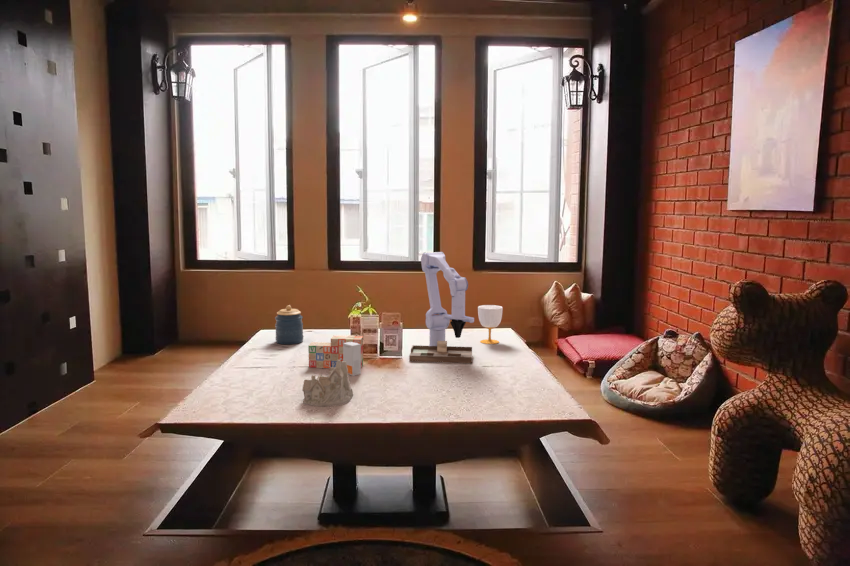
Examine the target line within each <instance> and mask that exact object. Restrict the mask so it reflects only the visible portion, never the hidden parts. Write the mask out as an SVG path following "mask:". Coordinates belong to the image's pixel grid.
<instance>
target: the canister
mask: <svg viewBox="0 0 850 566" xmlns="http://www.w3.org/2000/svg"><path fill="white" fill-rule="evenodd" d="M301 313H302V311H300V310H299V308H292V306H291V304H289V305H286V307H285V308H282V309H279V311H277V312H276V314H277V315H276V316H275V317H274V319H275V321H276V322H275V324H274V327H275V337H274V338H275V342H276V343H277V344H279V345H296V344H297V345H298V344H300V343H303V341H304V328H303V327H304V323H303V320H302V319H303V315H301Z"/></svg>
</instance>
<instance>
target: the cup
mask: <svg viewBox="0 0 850 566" xmlns="http://www.w3.org/2000/svg"><path fill="white" fill-rule="evenodd" d="M503 312H504V310H503V306H501V305H495V304H482V305H478V306H477V315H478V322H479V323H480V325H481V326H482V327H483V328H486V329H488V337H487V339H482V340H480V341H479V342H480V343H481V344H484V345H497V344H499V343H500V341H499V340H497V339H492V334H491V333H492V329H495V328H498V326H499V325H500V324H501V321H502V319H503Z"/></svg>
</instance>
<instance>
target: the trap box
mask: <svg viewBox="0 0 850 566" xmlns="http://www.w3.org/2000/svg"><path fill="white" fill-rule="evenodd" d="M408 357H409V359H408V361H409V362H418V363H419V362H420V363H421V362H422V363H424V362H425V363H454V364H455V363H456V364H457V363H458V364H472V360H473V346H454V345H453V346H448V345H447V352H437V346H429V345H414V344H413V345H411V348H410V353H409V356H408Z"/></svg>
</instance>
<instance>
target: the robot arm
mask: <svg viewBox="0 0 850 566" xmlns="http://www.w3.org/2000/svg"><path fill="white" fill-rule="evenodd" d="M420 264H421V269H422V272H423V273H424V275H425V280H426V281H425V282H426V289H427V294H428V300H429V302H428V303H429V306H430V307H429V309H428V310H427V311H426V313H425V326H426V328H427V329H428V330H429V345H428V346H437V342H438V341H446V330H447V329H448V327H449V326H450V325H451V327H452V330H453V333H454V336H455V338H456V339H459V338H461V336H462V332H463V329H464V327H465V325H466V324H467V323H470V324H473V323H474V322H475V317H472V316H467V315H466V291H467V290H468V288H469V282H468V280H467V277H463V276H461V275H460V274H459V273H458V272H457V270H456V269H455V268H454V267H450V265H449V263H448V262H447V261H446V255H445V253H444V252H443V251H435V252H434V251H432V252H426V251H425V252H423V253H422V254H421V258H420ZM439 271H442V273H443V277H444V279H445V281H446V282H447V283H448V285H449V286H448V287H449V291H450V292H449V293H450V296H451V314H449V313H448V311H447V310H446V309H445V308H443V307H442V301H441V296H440V289H439V282H438V277H437V276H438V275H437V273H438V272H439Z"/></svg>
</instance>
